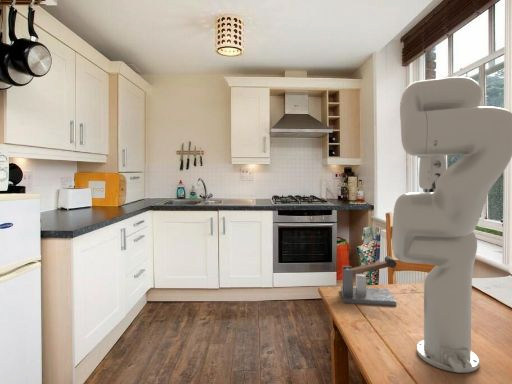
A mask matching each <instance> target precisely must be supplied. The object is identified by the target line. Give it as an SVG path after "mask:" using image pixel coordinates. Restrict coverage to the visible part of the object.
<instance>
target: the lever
mask: <svg viewBox="0 0 512 384" xmlns="http://www.w3.org/2000/svg"><path fill="white" fill-rule="evenodd" d="M396 267H397V261H395V259H393V257H391V256H390V255H387V256H385V257H384V260H383V261H379V262H372V263H369V264H364V265H360V266H355V267H352V268H349V269H351V270H353V275H356V274H364V273H366V272H372V271H377V270H381V269H385V268H391V269H393V268H396ZM347 269H348V268H347Z"/></svg>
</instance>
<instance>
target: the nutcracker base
mask: <svg viewBox="0 0 512 384" xmlns="http://www.w3.org/2000/svg"><path fill="white" fill-rule="evenodd" d="M347 268H348V269H347ZM349 268H353V267H352V265H342V286H340V294H341V297H342V302H343V304H354V305H357V304H358V305H370V306H371V305H374V306H392V307H396V306H397V300H396V298H395V297H394V296H393V294H392V293H391V291H390V290H389V288H374V287H373V288H372V287H370V288H369V287H367V277H366V274H364V273H358V274H355V287H354V274H353V270H351V269H349Z"/></svg>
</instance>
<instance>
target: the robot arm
mask: <svg viewBox="0 0 512 384" xmlns="http://www.w3.org/2000/svg"><path fill="white" fill-rule="evenodd" d="M482 96H483V91H482V87H481V86H480V84H479V83H478V82H477V81H476V80H474V79H473V78H470V77H466V76H452V77H451V76H450V77H445V78H444V77H443V78H435V79H425V80H419V81H418V80H417V81H414V82H411V83H410V84H408V85H407V86H406V88H404V90H403V93H402V95H401V98H400V102H399V103H400V105H399V119H400V132H401V133H400V135H401V144H402V148H403V150H404V152H406V153H407V154H409V155H411V156H413V157H414V156H416V157H417V158H420V159H419V171H418V184H419V188H421V189H422V192H406V193H403V194H401V195H400V196H399V197H398V198H397V199H396V201H395V202H394V207H393V214H392V229H391V230H392V232H391V233H392V234H391V249H392V252H393V256H394V257H395V258H396V260H398V261H401V262H404V263H409V264H410V263H411V264H424V265H425V264H427V265H432V266H433V268H432V269H431V270H430V271H429V272H428V273H427V275H426V276H425V279H424V282H423V340H420V341H419V342H418V343H417V344H416V353H417V355H418V356H419V357H420V358H421V359H422V361H424V362H426V363H428V364H429V365H430V366H432V367H436V368H438V369H440V370H444V371H448V372H452V373H458V374H459V373H462V374H463V373H467V374H468V373H471V372H474V371H476V370H478V369H479V367H480V358H479V357H478V356H477V354H475V353H474V351H472V295H473V293H472V292H473V291H472V290H473V289H472V288H473V285H472V284H473V273H474V272H473V271H474V265H475V260H476V256H477V255H476V254H477V252H478V251H477V250H478V239H477V236H476V234H475V232H474V231H475V229H476V228H477V225H478V223H479V221H480V219H481V216H482V212H483V209H484V207H485V204H486V201H487V199H488V198H487V197H488V194H489V192H490V190H491V189H492V187H493V186H494V185H495V183H496V182H498V179H499V178H500V177H501V175H502V174H503V173H504V171H505V170H506V169H507V167H508V165H509V163H510V161H511V159H512V112H511V111H510V110H508V109H506V108H503V107H497V106H479V105H480V103H481V101H482V98H483V97H482ZM455 155H456V156H458V155H461V156H462V155H463V156H462V157H461V158H460V159H458V160H457V161H455V162H454V163H452V164H451V165H449V166H448V168H447V165H446V156H455Z"/></svg>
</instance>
